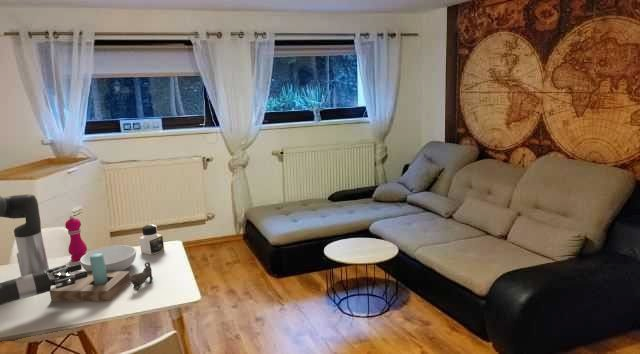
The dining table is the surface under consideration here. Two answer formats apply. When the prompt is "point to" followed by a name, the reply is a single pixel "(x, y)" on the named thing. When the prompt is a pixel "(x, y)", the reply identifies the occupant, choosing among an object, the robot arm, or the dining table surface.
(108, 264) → the serving bowl
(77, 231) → the pepper mill
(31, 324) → the dining table surface
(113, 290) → the socket board
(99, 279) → the pin
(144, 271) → the dog figurine
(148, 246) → the medicine bottle
